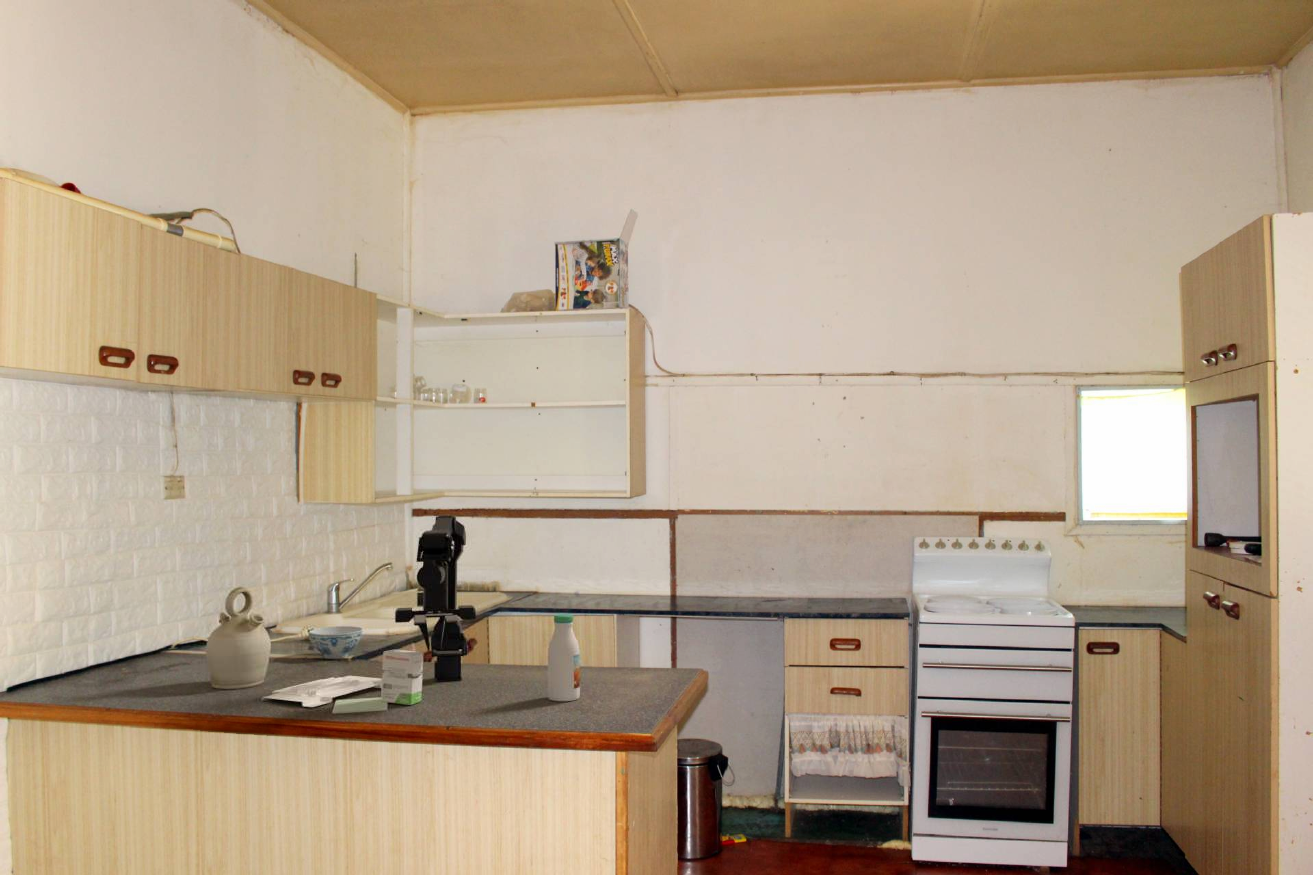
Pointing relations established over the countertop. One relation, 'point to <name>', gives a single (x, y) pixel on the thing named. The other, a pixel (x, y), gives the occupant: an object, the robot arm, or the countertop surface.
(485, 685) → the countertop surface
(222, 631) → the jug
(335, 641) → the chinaware
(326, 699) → the tray
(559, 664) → the milk bottle
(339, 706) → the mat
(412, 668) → the ink box
